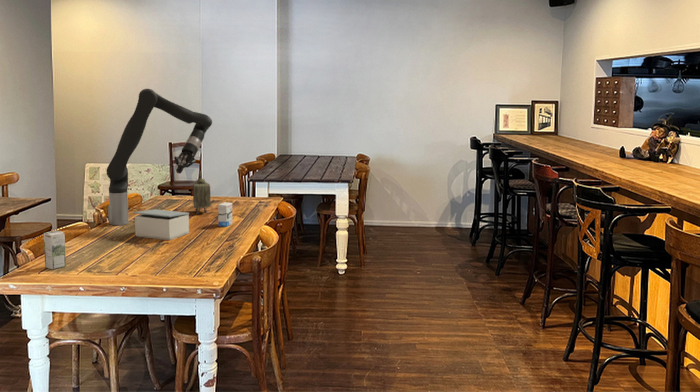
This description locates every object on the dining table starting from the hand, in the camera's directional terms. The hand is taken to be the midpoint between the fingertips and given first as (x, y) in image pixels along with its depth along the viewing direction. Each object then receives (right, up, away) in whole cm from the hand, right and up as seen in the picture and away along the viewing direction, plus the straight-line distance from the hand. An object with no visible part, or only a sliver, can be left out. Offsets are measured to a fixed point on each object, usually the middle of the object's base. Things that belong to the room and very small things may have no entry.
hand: (178, 172), depth 314 cm
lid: (-5, -21, -10) cm, 24 cm away
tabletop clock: (0, -22, +49) cm, 54 cm away
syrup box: (-31, -41, -66) cm, 84 cm away
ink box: (+21, -28, +17) cm, 39 cm away
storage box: (-6, -31, -8) cm, 33 cm away
